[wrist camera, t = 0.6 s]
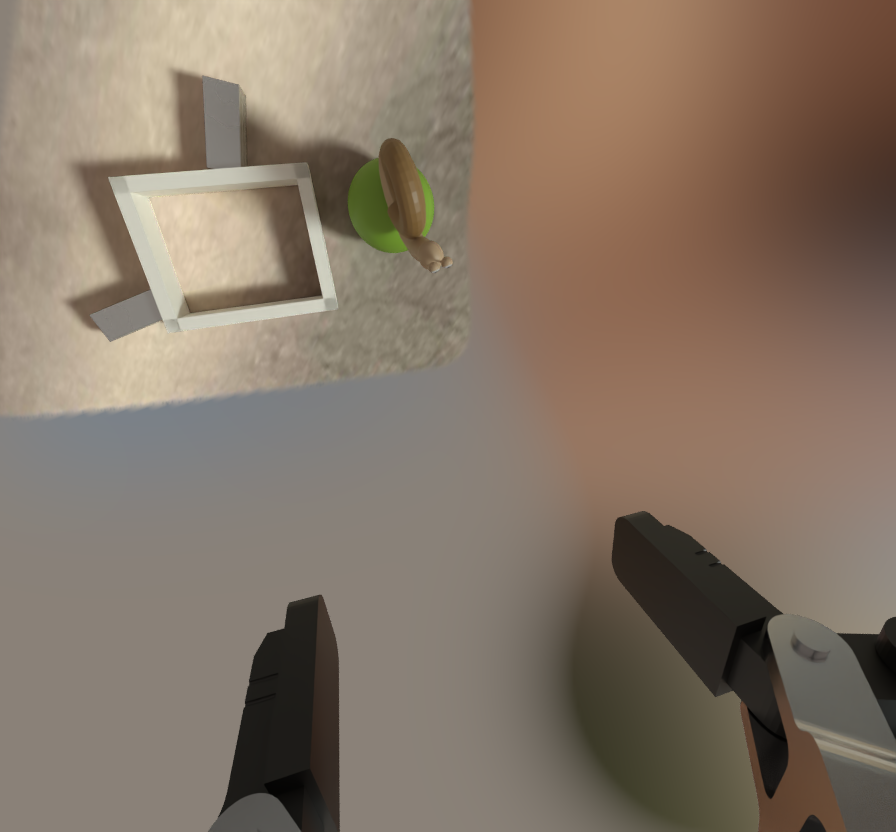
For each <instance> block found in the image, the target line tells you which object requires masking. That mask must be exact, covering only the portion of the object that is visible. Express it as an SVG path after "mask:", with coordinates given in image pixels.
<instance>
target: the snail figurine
mask: <svg viewBox="0 0 896 832" xmlns="http://www.w3.org/2000/svg"><path fill="white" fill-rule="evenodd" d="M348 211H349V216H350V219H351V222H352V224H353V226H354V228H355V230H356V231H357V233H358V234H359V236H360V237H361V238H362V239H363V240H364V241H365V242H366V243H368V244H369V245H370V246H372V247H373V248H375V249H378V250H380V251H383V252H388V253H399V252H404V251H407V250H408V251H409V252H410V254H411V255H412V256H413V257H414V258H415V259H416V260H418V261H419V262H420V263H421V265H422V266H423V267H424V268H425V269H428V270H429V271H430V272H431V273H436V272H438V271H439V269H440V266H441V265H442V266H443V267H444V268H449V267H450V266H452V263H453V262H452V259H451V258H450V257H444V255H443V251H442V249H441V247H440V246H439V245H438V244H437V243H436V242H434V241H429V240H428V239H427V238H425V236H426V234H427V233H428V231H429V229H430V227H431V224H432V220H433V215H434V200H433V195H432V191H431V188H430V186H429V184H428V182H427V180H426V178H425V177H424V176H423V174H422V173H421V172H420V171H419V170H418V169H417V168H416V166H415V164H414V162H413V160H412V158H411V156H410V154H409V152H408V150H407V149H406V147H405V146H404V145H403V143H402V142H401V141H399V140H397V139H394V138H389V139H387V140H385V141H384V142H383V144H382V146H381V148H380V152H379V158H376V159H373V160H371V161H369V162H368V163H366V164H365V165H364V166H362V167H361V168H360V169H359V171H358V172H357V173H356V175H355V176H354V178H353V180H352V182H351V185H350V188H349V193H348Z"/></svg>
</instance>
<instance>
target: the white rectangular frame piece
mask: <svg viewBox="0 0 896 832" xmlns="http://www.w3.org/2000/svg"><path fill="white" fill-rule="evenodd" d="M202 78H203V99H204V119H205V140H206V161H207V168H209V170H196V171H182V172H169V173H156V174H143V175H130V176H116V177H108V179H109V182H110V184H111V187H112V189H113V192H114V195H115V197H116V200H117V202H118V205H119V208H120V210H121V213H122V215H123V218H124V221H125V223H126V226H127V228H128V231H129V234H130V236H131V239H132V241H133V244H134V247H135V249H136V252H137V254H138V257H139V260H140V262H141V265H142V267H143V270H144V273H145V275H146V278H147V280H148V283H149V286H150V288H151V290H148V291H146V292H143V293H141V294H139V295H136V296H134V297H131V298H129V299H127V300H124V301H122V302H119V303H117V304H115V305H112V306H110V307H107V308H105V309H103V310H100V311H98V312H95V313H93V314H91V315H90V317H91V318H92V319H93V321H94V322H95V323H96V324H97V326H98V327H99V328H100V329H101V331H102V332H103V333H104V335H105V336H106V337H107V338H108V340H109V341H110V342H111V341H113V340H116V339H119V338H121V337H124V336H126V335H128V334H131V333H133V332H135V331H138V330H140V329H143V328H145V327H147V326H150V325H152V324H154V323H157V322H159V321H161V320H163V322H164V325H165V327H166V330H167V332H168V333H173V332H180V331H187V330H194V329H201V328H208V327H216V326H223V325H230V324H237V323H244V322H251V321H258V320H265V319H272V318H279V317H286V316H293V315H300V314H307V313H314V312H322V311H329V310H336V309H338V302H337V297H336V292H335V287H334V283H333V278H332V273H331V268H330V264H329V259H328V254H327V249H326V245H325V240H324V235H323V230H322V226H321V221H320V216H319V211H318V206H317V202H316V197H315V192H314V187H313V183H312V178H311V173H310V169H309V166H308V163H307V162H301V163H288V164H275V165H262V166H249V167H247V147H246V96H245V94H244V93H243V91H242V89H241V88H240V86H239V85H238V84H234V83H230V82H226V81H222V80H218V79H214V78H210V77H206V76H202ZM293 185H298V187H299V192H300V196H301V201H302V205H303V210H304V214H305V219H306V223H307V228H308V232H309V237H310V241H311V246H312V250H313V255H314V259H315V264H316V268H317V273H318V277H319V282H320V286H321V291H322V296H314V297H307V298H299V299H292V300H284V301H277V302H270V303H262V304H255V305H247V306H240V307H232V308H225V309H218V310H210V311H203V312H195V313H190V311H189V309H188V306H187V303H186V300H185V297H184V295H183V292H182V289H181V286H180V283H179V280H178V278H177V275H176V272H175V269H174V266H173V264H172V261H171V258H170V255H169V252H168V250H167V247H166V244H165V241H164V238H163V235H162V233H161V230H160V227H159V224H158V221H157V219H156V216H155V213H154V210H153V207H152V205H151V202H150V199H149V198H152V197H164V196H175V195H187V194H199V193H211V192H222V191H234V190H246V189H258V188H269V187H281V186H293Z"/></svg>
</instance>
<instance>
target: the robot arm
mask: <svg viewBox="0 0 896 832" xmlns="http://www.w3.org/2000/svg"><path fill="white" fill-rule="evenodd" d="M612 565H613V568H614V571H615V574H616V575H617V578H618V579H619V581H620V582H621V583H622V584H623V586H624V587H625V588H626V589H627V591H628V592H629V593H630V594H631V595H632V597H633V598H634V599H635V600H636V601H637V603H638V604H639V605H640V606H641V607H642V609H643V610H644V611H645V612H646V614H647V615H648V616H649V617H650V618H651V620H652V621H653V622H654V623H655V624H656V625H657V627H658V628H659V629H660V630H661V632H662V633H663V634H664V635H665V637H666V638H667V639H668V640H669V641H670V643H671V644H672V645H673V646H674V647H675V649H676V650H677V651H678V652H679V654H680V655H681V656H682V657H683V658H684V659H685V661H686V662H687V663H688V664H689V665H690V667H691V668H692V669H693V670H694V672H695V673H696V674H697V675H698V677H699V678H700V679H701V680H702V681H703V683H704V684H705V685H706V686H707V687H708V689H709V690H710V691H711V692H712V693H713V695H714V696H715V697H717V696H720V695H722V694H725V693H727V692H730V691H734V692H735V693H736V694H737V695H738V697H739V698H740V699H741V703H740V712H741V717H742V722H743V727H744V732H745V737H746V742H747V748H748V752H749V758H750V762H751V767H752V773H753V778H754V783H755V787H756V793H757V798H758V805H759V827H758V832H896V617H893V618H890V619H888V620H887V621H886V622H885V624H884V626H883V628H882V630H881V632H880V634H840V633H835V632H834V631H832V630H831V629H829V628H828V627H826V626H824V625H822V624H820V623H818V622H816V621H814V620H812V619H809V618H806V617H802V616H799V615H793V614H783V613H782V612H780V611H779V610H778V609H776V608H775V607H774V606H773V605H772V604H771V603H769V602H768V601H767V600H766V599H765V598H763V597H762V596H761V595H760V594H759V593H757V592H756V591H755V590H754V589H753V588H751V587H750V586H749V585H748V584H747V583H746V582H744V581H743V580H742V579H741V578H740V577H738V576H737V575H736V574H735V573H734V572H732V571H731V570H730V569H729V568H728V567H726V566H725V565H722V564H721V562H720V561H719V560H718V559H717V558H716V557H715V556H713V555H712V554H711V553H710V552H709V553H708V552H707V551H706V549H705V548H704V547H703V546H702V545H700V544H699V543H698V542H697V541H696V540H694V539H693V538H692V537H691V536H690V535H688V534H686V533H684V532H682V531H680V530H678V529H676V528H674V527H672V526H670V525H666V526H663V525H662V524H661V523H660V522H659V521H658V520H657V519H655V518H654V517H653V516H652V515H651V514H650V513H647V512H645V511H642V512H638V513H634V514H630V515H626V516H623V517H619V518H618V519H617V520H616V522H615V530H614V540H613V550H612ZM339 817H340V814H339V658H338V649H337V643H336V638H335V634H334V631H333V627H332V624H331V621H330V618H329V615H328V612H327V608H326V605H325V602H324V599H323V597H322V595H317V596H313V597H309V598H305V599H302V600H298V601H294V602H290V603H289V604H288V607H287V614H286V620H285V628H284V629H281V630H277V631H274V632H270V633H267V635H266V637H265V638H264V640H263V642H262V644H261V645H260V647H259V649H258V651H257V652H256V654H255V656H254V659H253V664H252V669H251V674H250V679H249V686H248V689H247V695H246V699H245V708H244V710H243V715H242V720H241V725H240V730H239V735H238V740H237V745H236V750H235V755H234V760H233V766H232V770H231V775H230V780H229V786H228V791H227V795H226V798H225V802H224V805H223V807H222V810H221V812H220V815H219V816H218V819H217V820H216V821H215V822H214V824H213V825H212V827H211V828H210V830H209V831H208V832H340V829H339V828H340V823H339V822H340V819H339Z"/></svg>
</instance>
